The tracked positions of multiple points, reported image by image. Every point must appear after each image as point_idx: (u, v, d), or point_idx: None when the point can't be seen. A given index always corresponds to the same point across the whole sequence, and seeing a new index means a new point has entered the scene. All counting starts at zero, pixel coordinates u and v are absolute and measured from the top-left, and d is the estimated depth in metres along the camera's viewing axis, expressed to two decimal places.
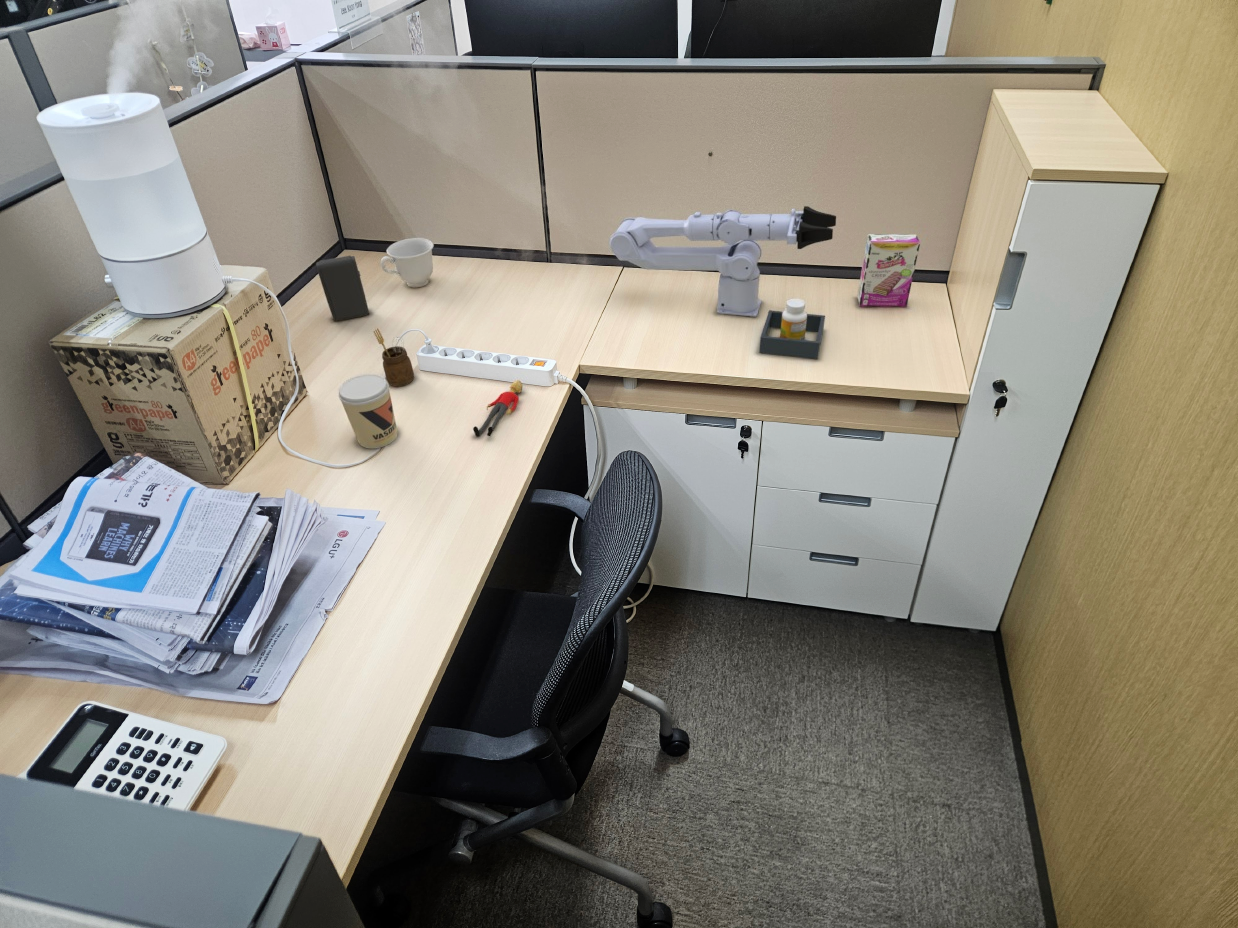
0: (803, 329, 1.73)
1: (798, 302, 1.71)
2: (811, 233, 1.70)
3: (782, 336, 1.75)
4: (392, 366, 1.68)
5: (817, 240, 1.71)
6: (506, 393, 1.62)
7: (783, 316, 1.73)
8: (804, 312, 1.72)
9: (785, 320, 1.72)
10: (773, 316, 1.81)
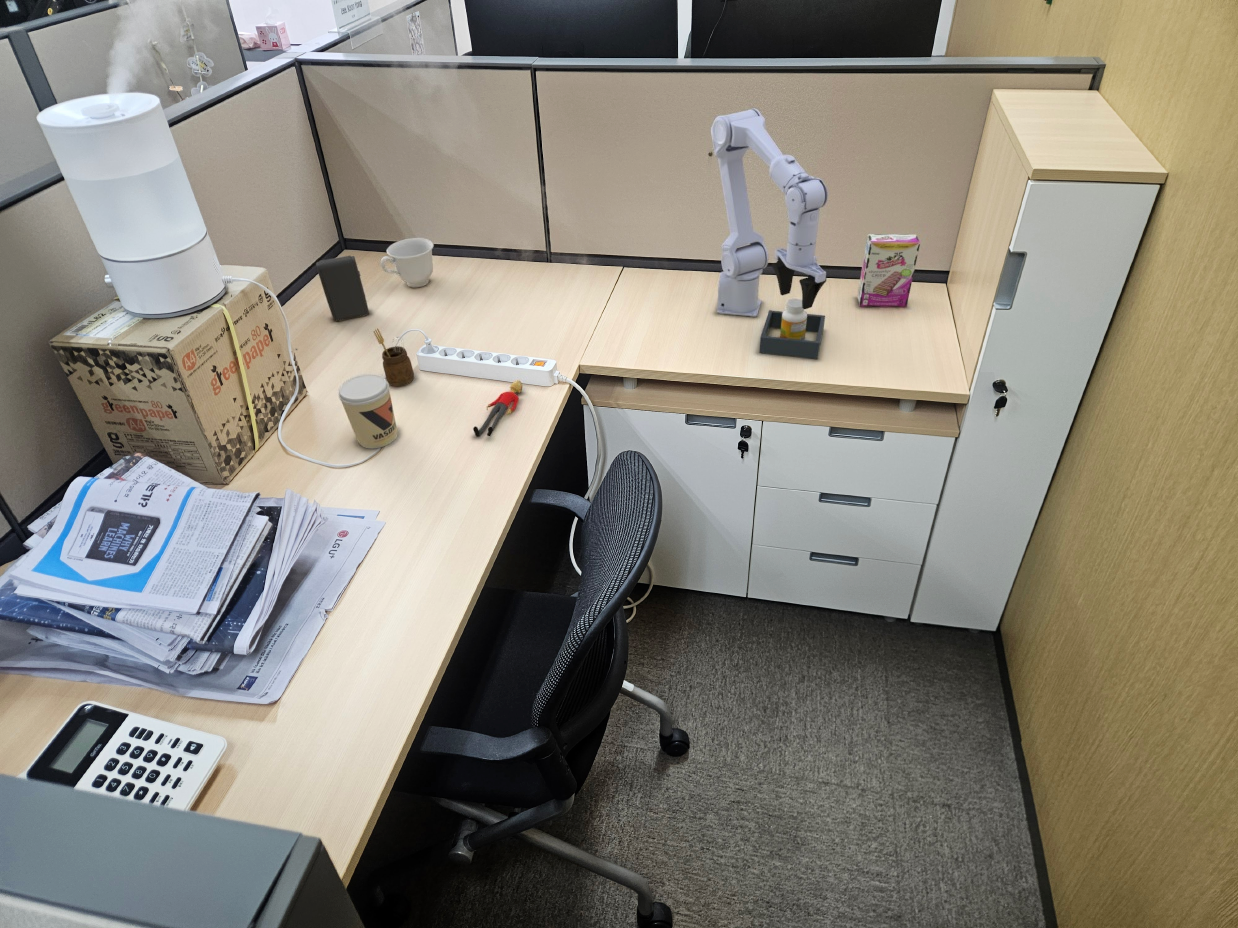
0: (803, 329, 1.73)
1: (798, 302, 1.71)
2: (812, 289, 1.65)
3: (782, 336, 1.75)
4: (392, 366, 1.68)
5: (806, 297, 1.66)
6: (506, 393, 1.62)
7: (783, 316, 1.73)
8: (804, 312, 1.72)
9: (785, 320, 1.72)
10: (773, 316, 1.81)
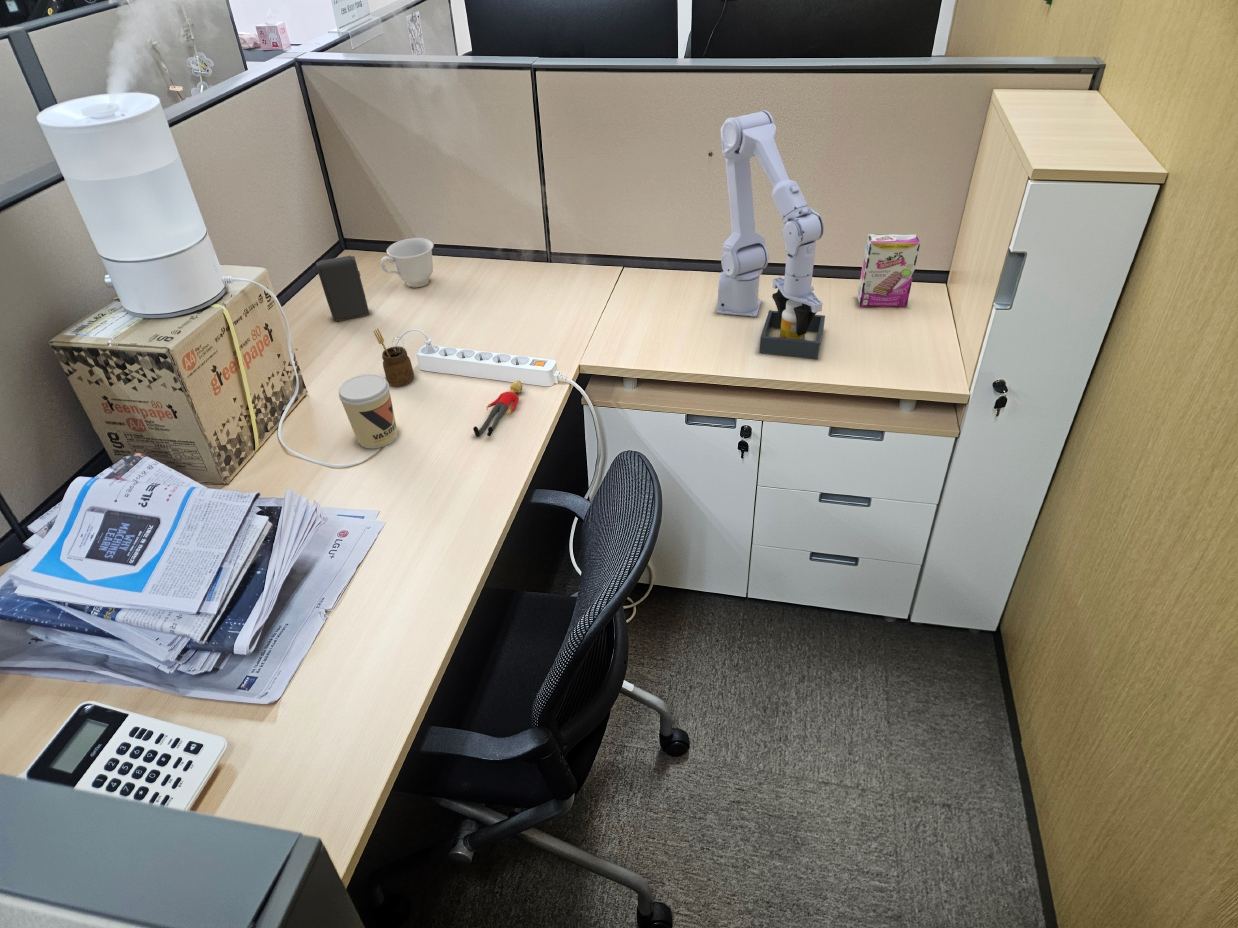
0: None
1: (798, 302, 1.71)
2: (806, 316, 1.70)
3: (782, 336, 1.75)
4: (392, 366, 1.68)
5: (800, 324, 1.70)
6: (506, 393, 1.62)
7: (783, 316, 1.73)
8: None
9: (785, 319, 1.72)
10: (773, 316, 1.81)
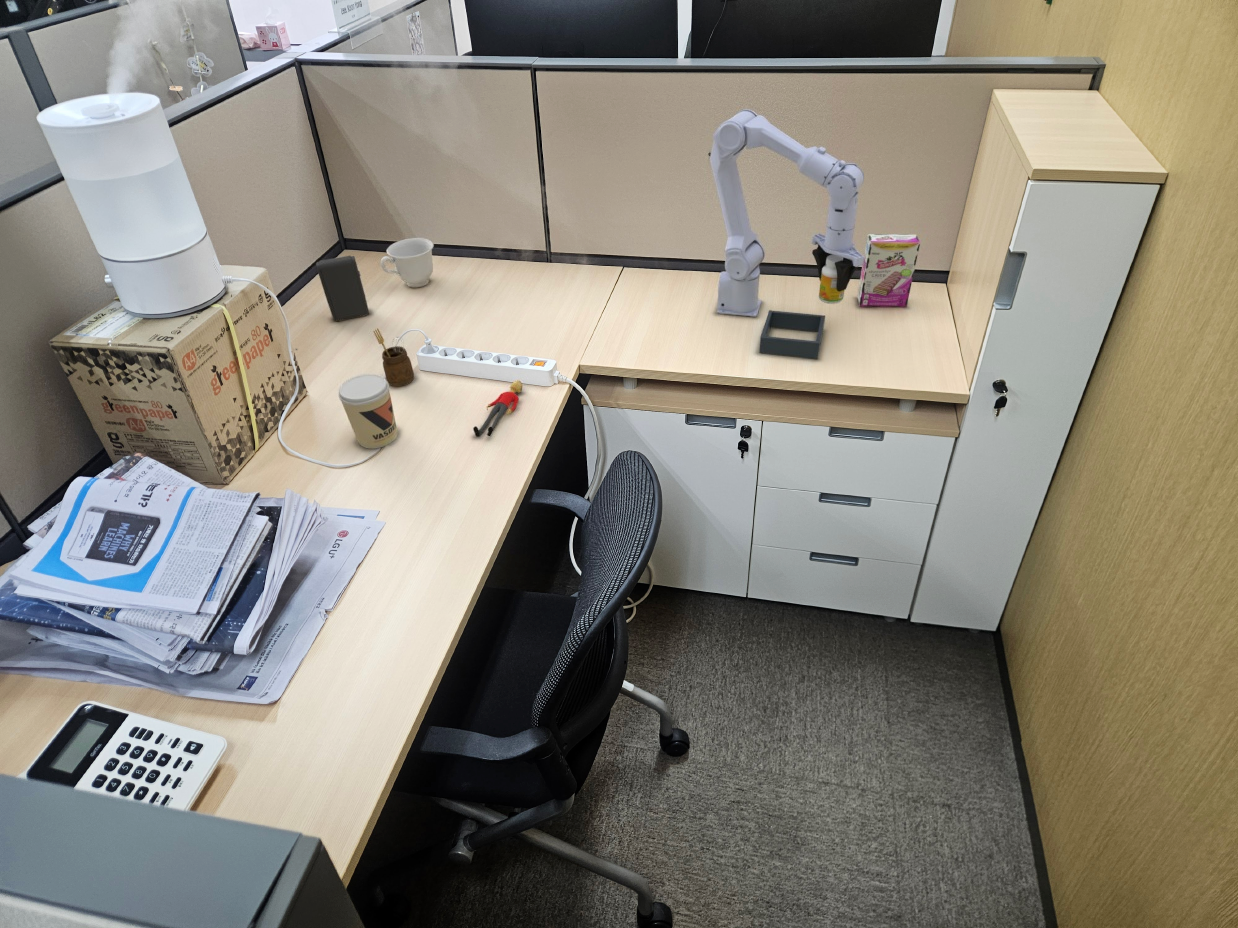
0: None
1: (838, 257, 1.72)
2: (846, 271, 1.70)
3: (821, 292, 1.76)
4: (392, 366, 1.68)
5: (841, 279, 1.71)
6: (506, 393, 1.62)
7: (823, 272, 1.73)
8: None
9: (825, 275, 1.73)
10: (773, 316, 1.81)
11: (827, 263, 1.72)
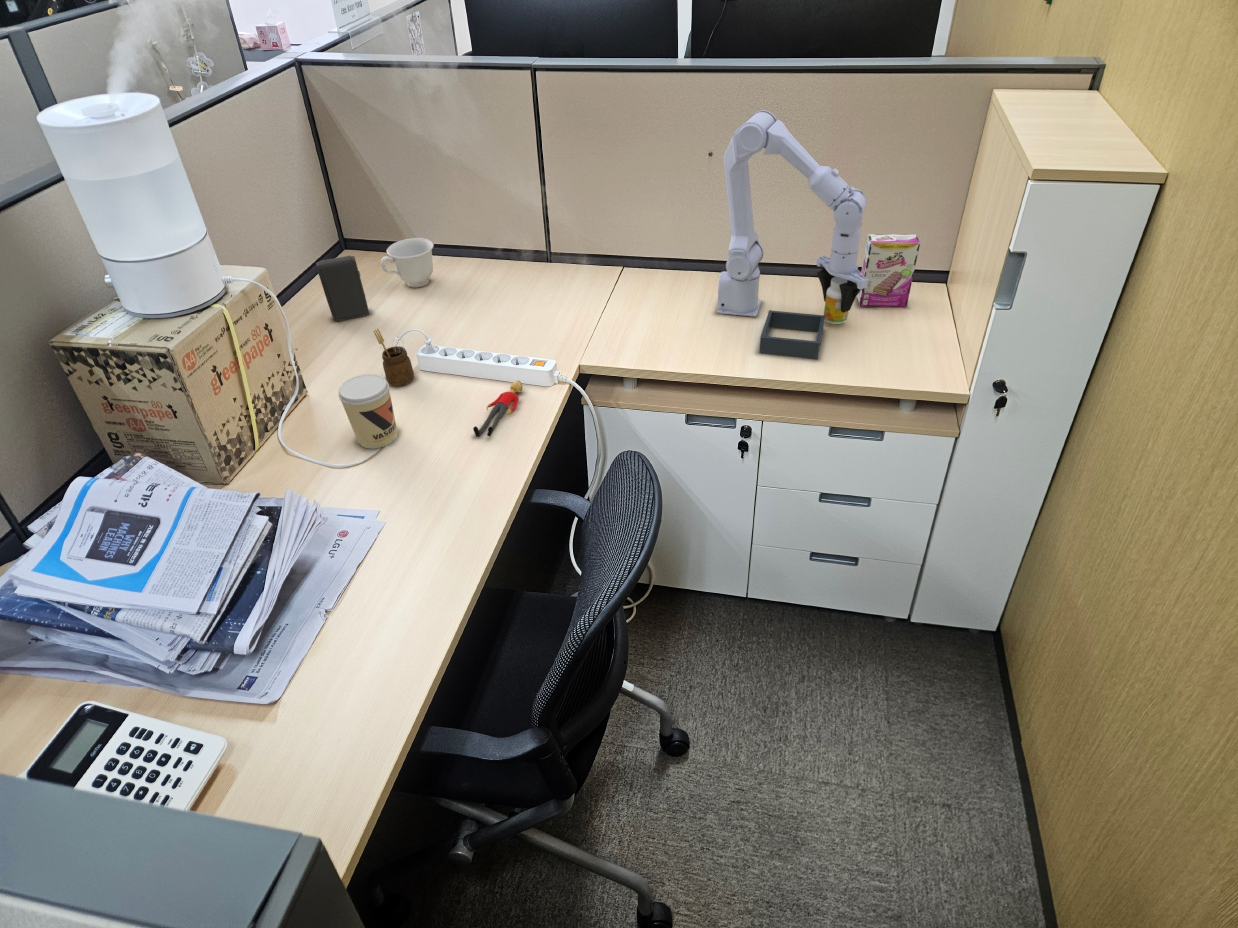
0: None
1: (842, 279, 1.76)
2: (850, 293, 1.75)
3: (826, 313, 1.80)
4: (392, 366, 1.68)
5: (845, 301, 1.75)
6: (506, 393, 1.62)
7: (828, 293, 1.78)
8: None
9: (830, 297, 1.77)
10: (773, 316, 1.81)
11: (832, 285, 1.76)
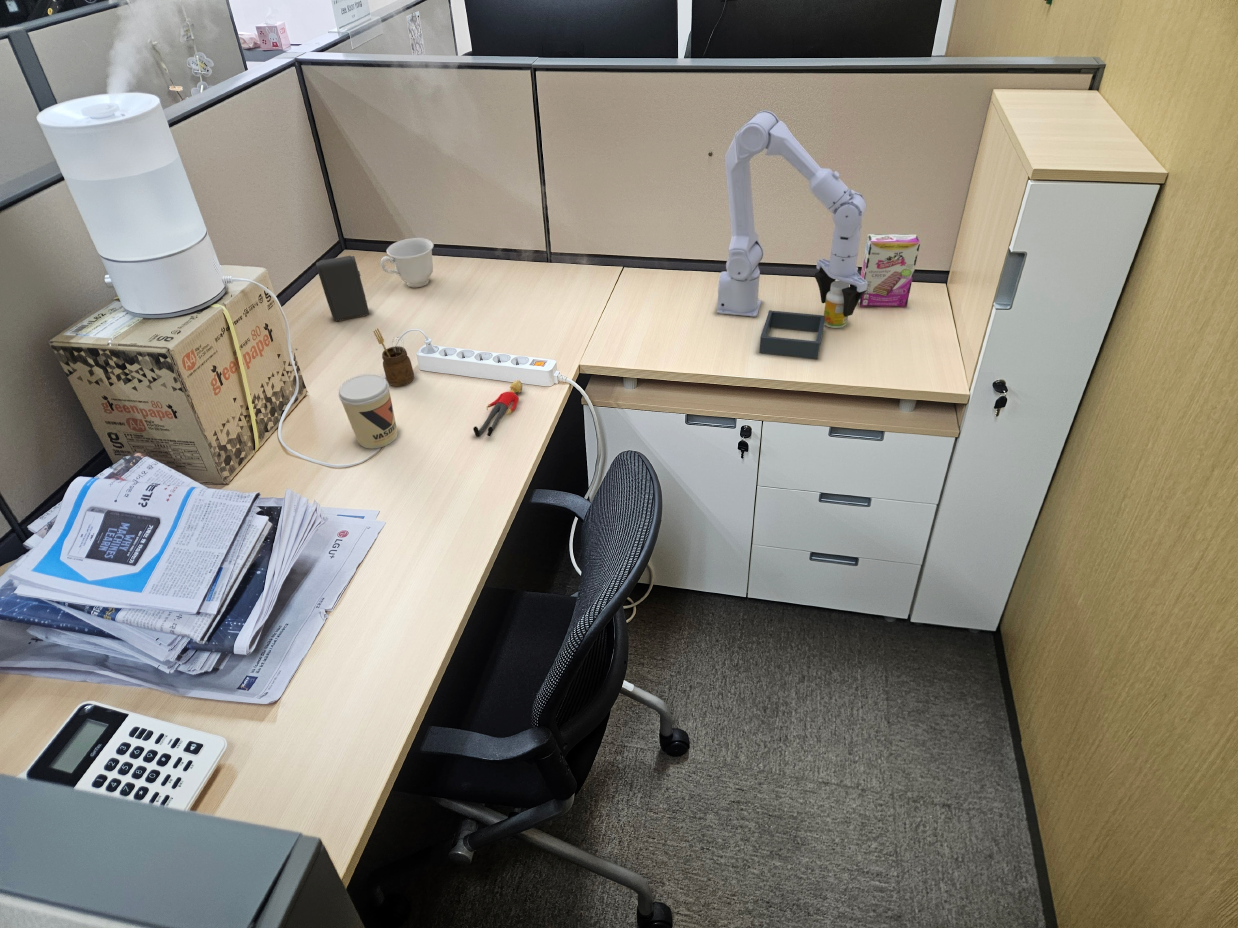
0: None
1: (842, 284, 1.77)
2: (853, 297, 1.75)
3: (826, 317, 1.81)
4: (392, 366, 1.68)
5: (848, 305, 1.75)
6: (506, 393, 1.62)
7: (827, 297, 1.78)
8: None
9: (829, 301, 1.78)
10: (773, 316, 1.81)
11: (831, 289, 1.77)
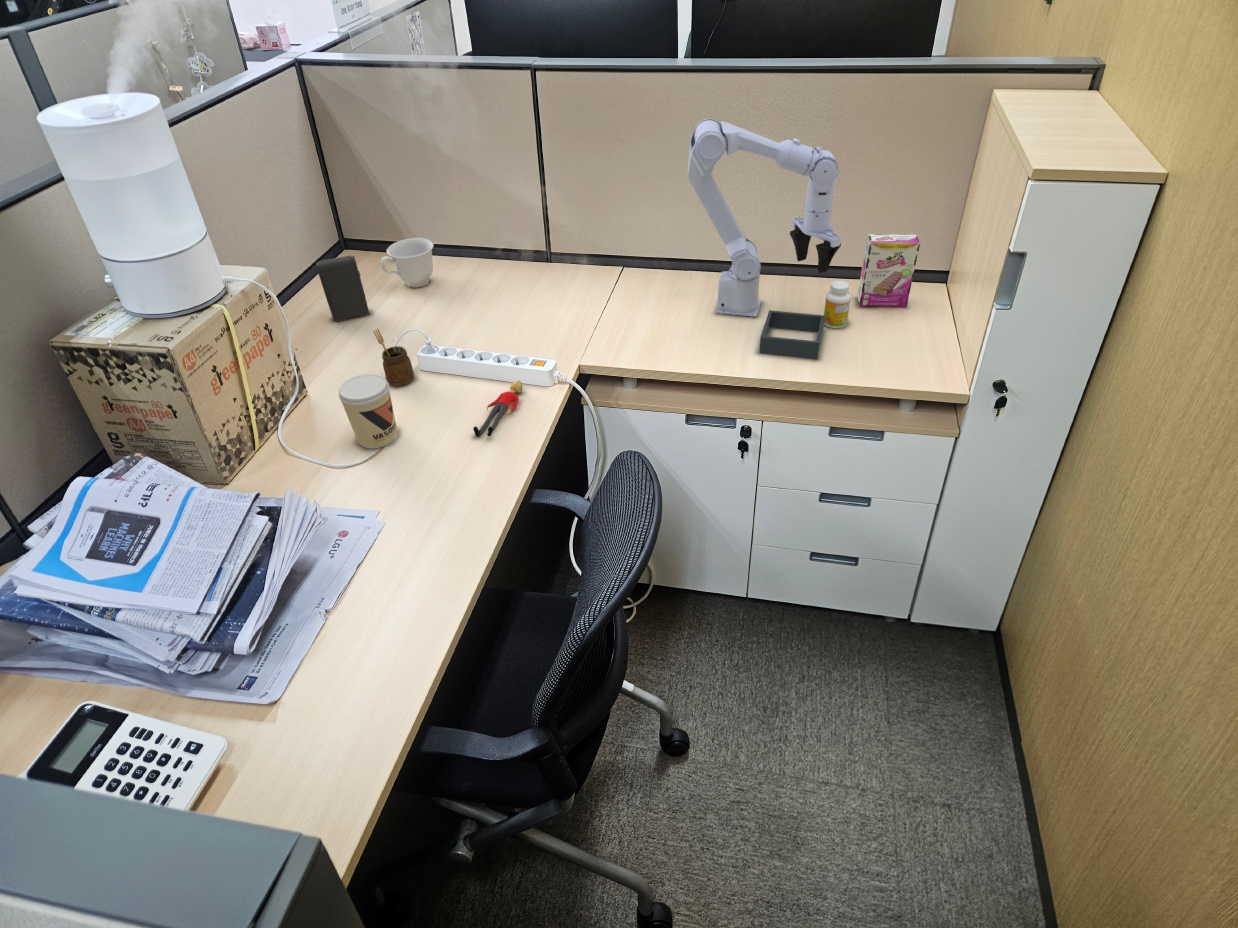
0: (847, 310, 1.79)
1: (842, 284, 1.77)
2: (827, 254, 1.78)
3: (826, 317, 1.81)
4: (392, 366, 1.68)
5: (822, 261, 1.78)
6: (506, 393, 1.62)
7: (827, 297, 1.78)
8: (848, 294, 1.78)
9: (829, 301, 1.78)
10: (773, 316, 1.81)
11: (831, 289, 1.77)
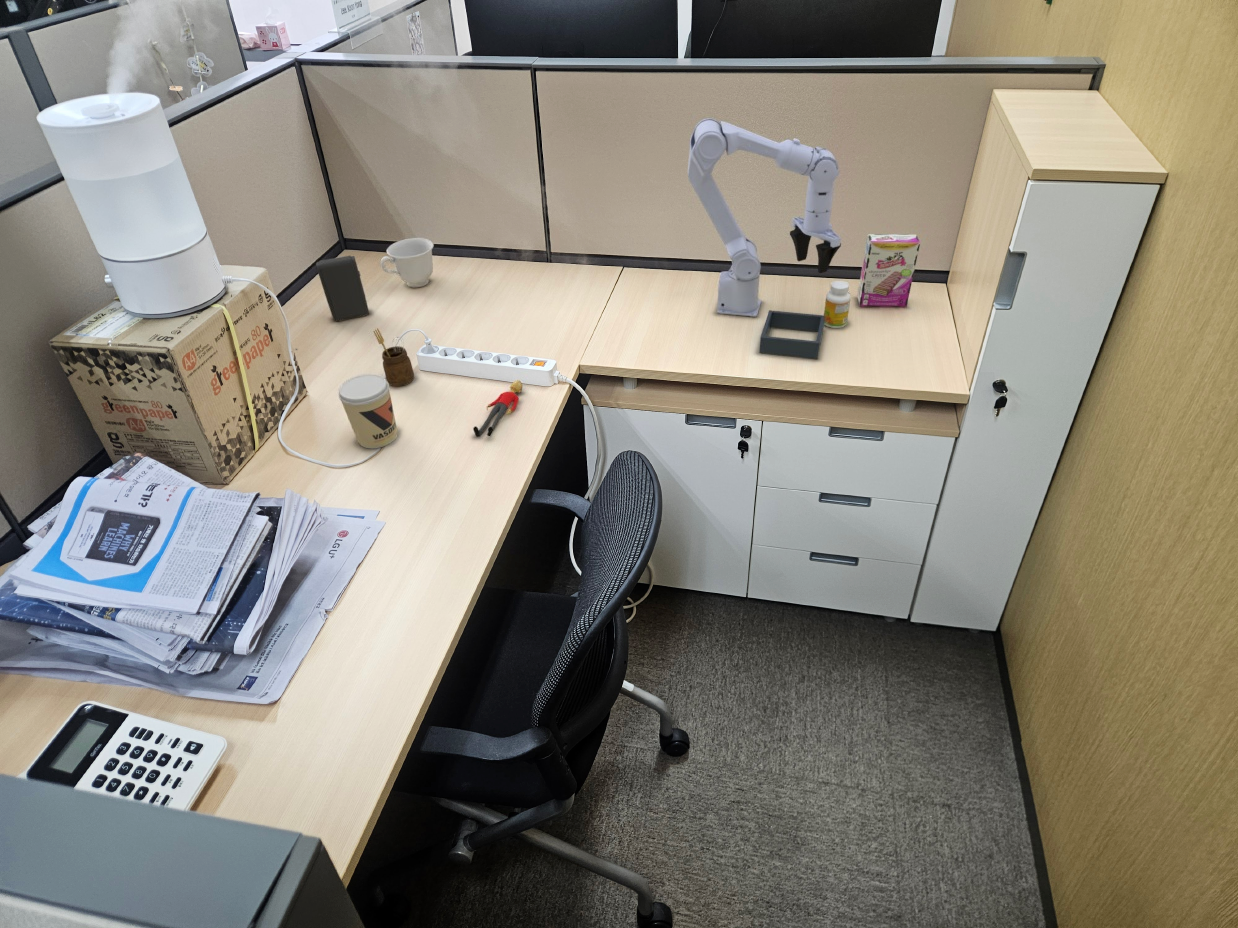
0: (847, 310, 1.79)
1: (842, 284, 1.77)
2: (827, 254, 1.78)
3: (826, 317, 1.81)
4: (392, 366, 1.68)
5: (822, 261, 1.78)
6: (506, 393, 1.62)
7: (827, 297, 1.78)
8: (848, 294, 1.78)
9: (829, 301, 1.78)
10: (773, 316, 1.81)
11: (831, 289, 1.77)
